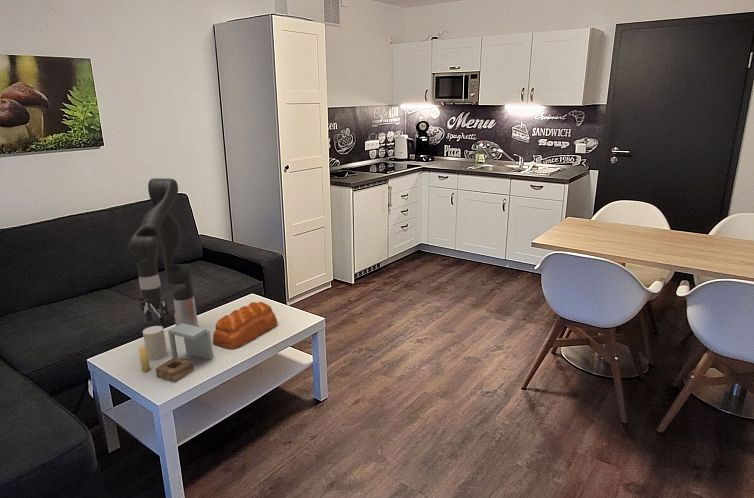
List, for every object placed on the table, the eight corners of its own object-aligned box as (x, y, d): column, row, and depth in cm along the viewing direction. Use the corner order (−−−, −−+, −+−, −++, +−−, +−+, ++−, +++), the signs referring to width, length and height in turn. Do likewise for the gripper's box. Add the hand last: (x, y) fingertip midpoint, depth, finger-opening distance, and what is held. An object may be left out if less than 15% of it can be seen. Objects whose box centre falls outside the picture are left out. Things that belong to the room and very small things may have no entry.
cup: (147, 361, 214) (143, 335, 210) (146, 353, 221) (142, 328, 217) (168, 356, 217) (164, 331, 214) (166, 349, 224) (162, 324, 221)
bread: (209, 344, 228) (205, 317, 225) (257, 318, 254) (255, 294, 251) (234, 351, 221) (230, 324, 217) (281, 324, 247) (279, 299, 243)
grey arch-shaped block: (172, 361, 213) (168, 330, 209) (188, 352, 221) (184, 321, 217) (197, 368, 207) (193, 336, 203) (213, 358, 215) (209, 327, 211)
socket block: (156, 377, 201) (155, 368, 200) (176, 365, 210) (174, 356, 209) (175, 382, 197) (173, 373, 196) (194, 370, 206) (192, 361, 204)
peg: (140, 370, 206) (136, 348, 204) (146, 367, 209) (142, 345, 206) (145, 372, 205) (141, 350, 202) (151, 368, 208) (147, 346, 205)
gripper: (130, 285, 199) (137, 323, 204) (153, 291, 192) (159, 330, 197) (147, 280, 206) (153, 316, 210) (170, 285, 198) (175, 323, 203)
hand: (156, 323), depth 203 cm, fingers open, 8 cm apart
